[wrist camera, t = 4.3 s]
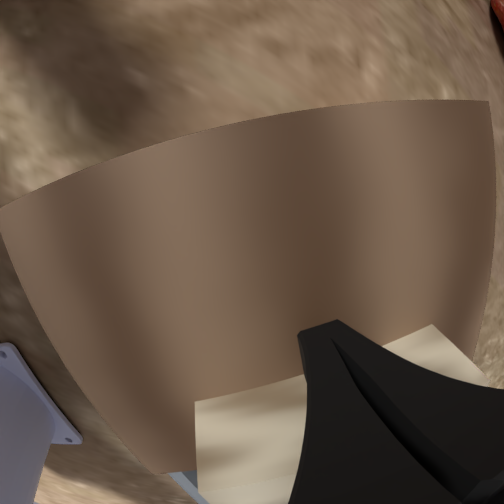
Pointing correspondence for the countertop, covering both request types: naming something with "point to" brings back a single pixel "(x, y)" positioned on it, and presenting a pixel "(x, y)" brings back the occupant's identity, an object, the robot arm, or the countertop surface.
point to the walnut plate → (256, 254)
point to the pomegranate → (499, 10)
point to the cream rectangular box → (287, 426)
